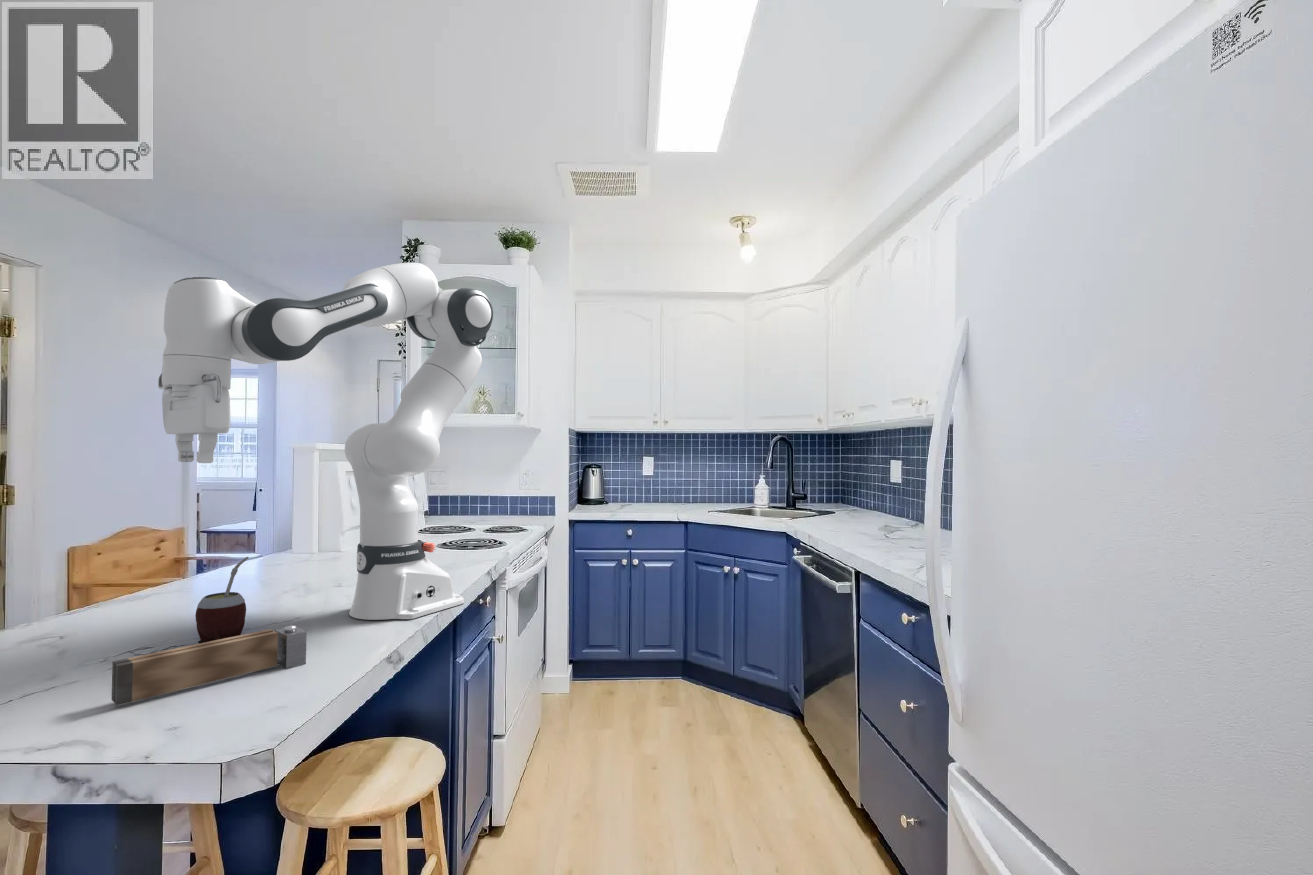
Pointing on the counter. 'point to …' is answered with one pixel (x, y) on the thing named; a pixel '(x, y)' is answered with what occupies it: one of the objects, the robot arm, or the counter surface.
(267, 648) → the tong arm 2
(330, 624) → the counter surface
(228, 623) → the mate gourd
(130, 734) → the counter surface
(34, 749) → the counter surface
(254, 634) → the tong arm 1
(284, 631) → the block
